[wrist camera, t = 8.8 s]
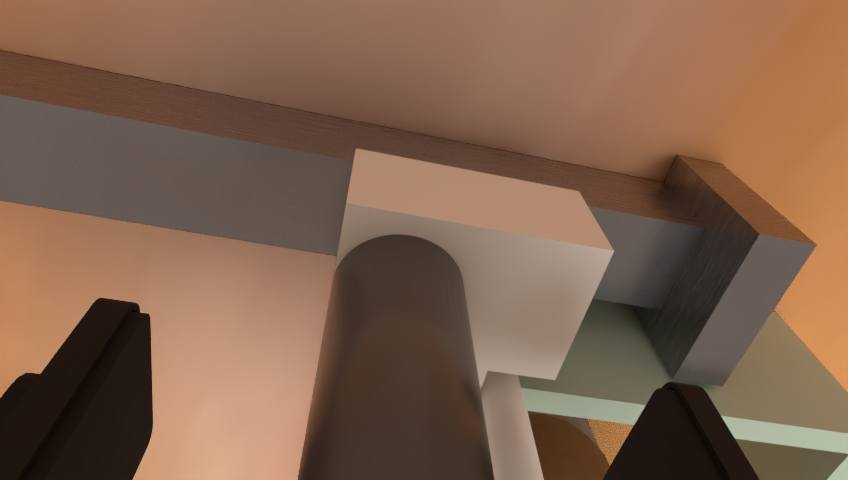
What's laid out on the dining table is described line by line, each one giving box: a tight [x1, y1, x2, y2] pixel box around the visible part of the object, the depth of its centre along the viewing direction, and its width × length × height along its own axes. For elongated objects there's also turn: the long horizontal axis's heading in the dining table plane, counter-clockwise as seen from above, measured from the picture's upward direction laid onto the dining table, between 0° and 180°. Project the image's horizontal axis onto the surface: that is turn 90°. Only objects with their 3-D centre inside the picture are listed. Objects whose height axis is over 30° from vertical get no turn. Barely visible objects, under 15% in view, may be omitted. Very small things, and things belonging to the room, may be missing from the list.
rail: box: [0, 50, 816, 387], centre depth 16 cm, size 5×28×5 cm, turn 78°
